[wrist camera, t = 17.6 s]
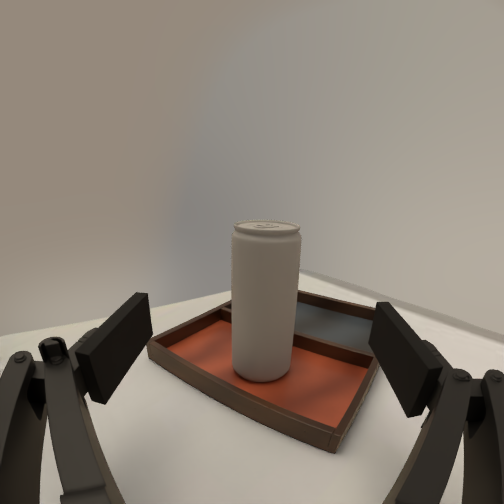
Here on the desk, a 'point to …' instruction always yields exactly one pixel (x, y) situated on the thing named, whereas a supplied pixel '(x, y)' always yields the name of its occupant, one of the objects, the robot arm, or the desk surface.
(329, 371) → the sorting tray
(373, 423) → the desk surface
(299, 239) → the beverage can
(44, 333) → the desk surface
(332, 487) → the desk surface
